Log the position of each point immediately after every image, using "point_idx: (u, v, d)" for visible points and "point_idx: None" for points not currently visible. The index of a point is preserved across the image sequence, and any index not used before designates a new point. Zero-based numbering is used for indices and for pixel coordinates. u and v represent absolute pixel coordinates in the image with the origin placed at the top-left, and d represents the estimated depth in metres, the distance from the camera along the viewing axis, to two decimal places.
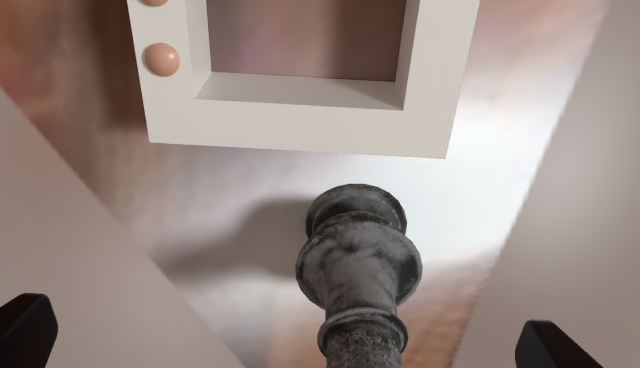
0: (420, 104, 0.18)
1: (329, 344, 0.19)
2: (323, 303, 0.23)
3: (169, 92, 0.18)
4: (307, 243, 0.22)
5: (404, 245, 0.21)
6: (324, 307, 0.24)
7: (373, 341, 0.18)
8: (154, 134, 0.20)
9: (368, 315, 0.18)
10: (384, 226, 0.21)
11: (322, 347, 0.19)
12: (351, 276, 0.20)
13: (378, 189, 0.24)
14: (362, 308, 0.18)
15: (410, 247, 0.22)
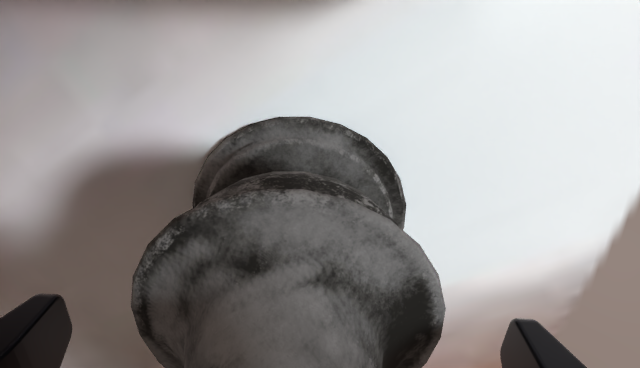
0: None
1: None
2: None
3: None
4: (147, 249, 0.08)
5: (399, 255, 0.08)
6: None
7: None
8: None
9: None
10: (344, 202, 0.08)
11: None
12: (243, 343, 0.07)
13: (342, 129, 0.11)
14: None
15: (415, 259, 0.08)
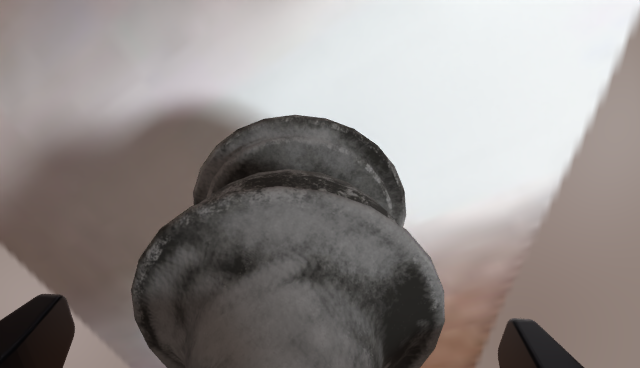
0: None
1: None
2: None
3: None
4: (139, 262, 0.09)
5: (385, 241, 0.08)
6: None
7: None
8: None
9: None
10: (321, 194, 0.08)
11: None
12: (231, 345, 0.07)
13: (327, 122, 0.11)
14: None
15: (402, 244, 0.08)
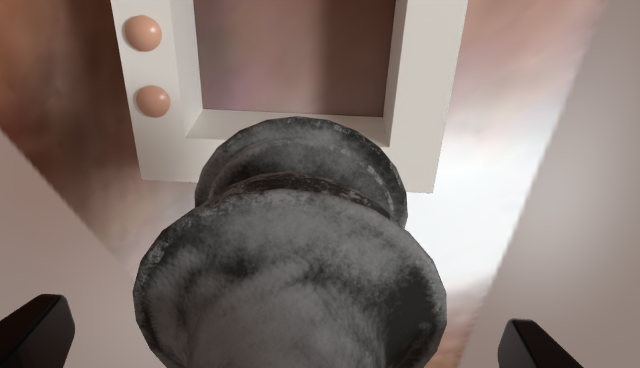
0: (405, 141, 0.19)
1: None
2: None
3: (160, 132, 0.19)
4: (141, 264, 0.09)
5: (388, 244, 0.08)
6: None
7: None
8: (146, 172, 0.20)
9: None
10: (323, 197, 0.08)
11: None
12: (234, 348, 0.07)
13: (329, 124, 0.11)
14: None
15: (405, 247, 0.08)
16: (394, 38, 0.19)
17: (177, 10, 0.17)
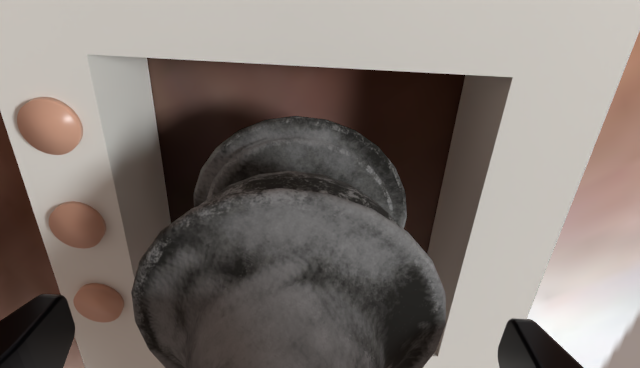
0: (461, 350, 0.13)
1: None
2: None
3: (112, 334, 0.13)
4: (140, 264, 0.09)
5: (387, 243, 0.08)
6: None
7: None
8: None
9: None
10: (322, 196, 0.08)
11: None
12: (232, 347, 0.07)
13: (328, 124, 0.11)
14: None
15: (403, 246, 0.08)
16: (447, 202, 0.13)
17: (130, 183, 0.12)
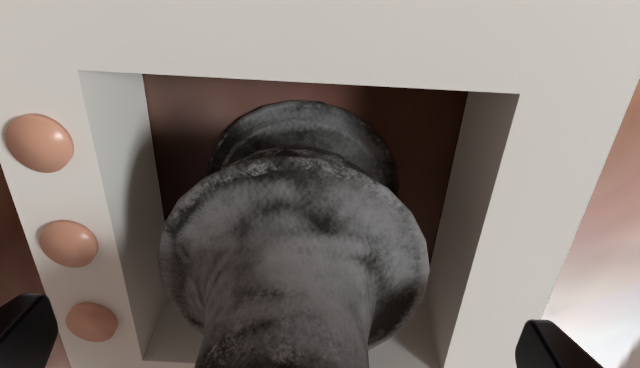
0: None
1: None
2: (187, 302, 0.11)
3: (105, 353, 0.13)
4: (235, 167, 0.09)
5: (416, 267, 0.10)
6: (183, 309, 0.11)
7: None
8: None
9: None
10: (409, 212, 0.10)
11: None
12: (307, 283, 0.08)
13: (384, 146, 0.13)
14: None
15: (422, 276, 0.10)
16: (450, 218, 0.13)
17: (124, 199, 0.11)
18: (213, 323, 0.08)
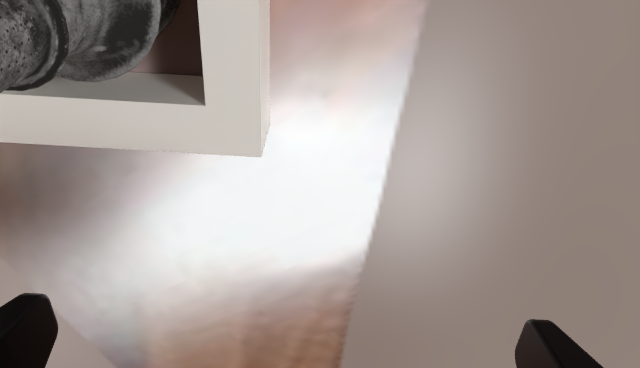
0: (221, 99, 0.18)
1: None
2: None
3: None
4: None
5: None
6: None
7: None
8: None
9: None
10: None
11: None
12: None
13: None
14: None
15: None
16: None
17: None
18: None
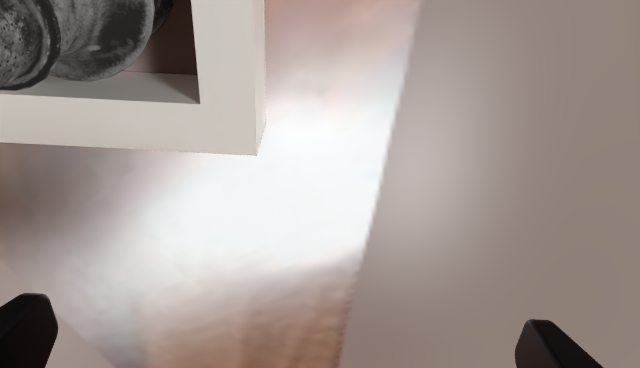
0: (216, 97, 0.18)
1: None
2: None
3: None
4: None
5: None
6: None
7: None
8: None
9: None
10: None
11: None
12: None
13: None
14: None
15: None
16: None
17: None
18: None
